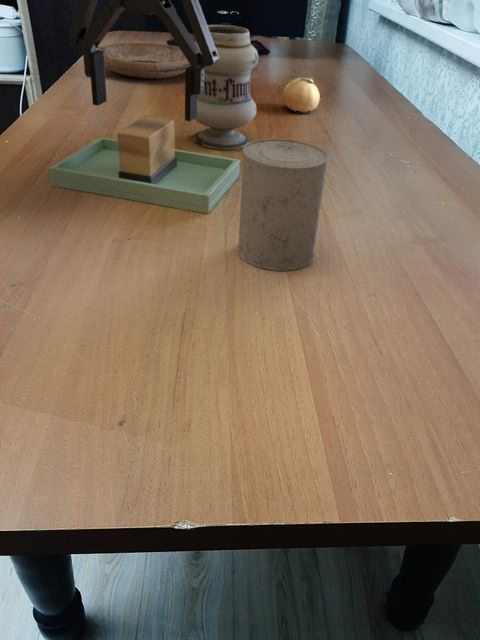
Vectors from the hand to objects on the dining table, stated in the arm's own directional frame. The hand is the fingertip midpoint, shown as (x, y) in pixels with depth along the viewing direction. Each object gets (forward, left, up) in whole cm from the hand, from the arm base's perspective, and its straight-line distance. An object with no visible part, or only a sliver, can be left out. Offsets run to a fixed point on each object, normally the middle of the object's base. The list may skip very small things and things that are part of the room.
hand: (144, 111), depth 80 cm
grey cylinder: (+23, -15, -10) cm, 30 cm away
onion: (+13, +51, -10) cm, 54 cm away
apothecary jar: (+4, +23, -10) cm, 26 cm away
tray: (0, 0, -10) cm, 10 cm away
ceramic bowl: (-28, +64, -10) cm, 70 cm away
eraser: (0, 0, -9) cm, 9 cm away
